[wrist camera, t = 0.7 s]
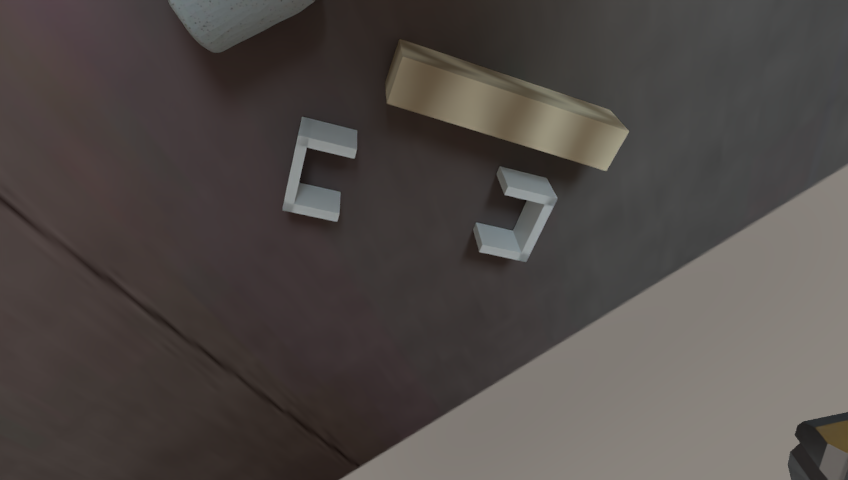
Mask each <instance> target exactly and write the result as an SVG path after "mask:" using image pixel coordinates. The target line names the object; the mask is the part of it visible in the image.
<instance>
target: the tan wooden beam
mask: <svg viewBox="0 0 848 480" xmlns="http://www.w3.org/2000/svg"><path fill="white" fill-rule="evenodd" d="M385 89H386V100H387V104H390V105H393V106H396V107H400V108H403V109H406V110H409V111H413V112H416V113H419V114H422V115H426V116H429V117H432V118H435V119H439V120H442V121H445V122H448V123H452V124H455V125H458V126H461V127H465V128H468V129H471V130H474V131H478V132H481V133H484V134H487V135H491V136H494V137H497V138H500V139H504V140H507V141H510V142H513V143H517V144H520V145H523V146H526V147H530V148H533V149H536V150H539V151H543V152H546V153H549V154H552V155H556V156H559V157H562V158H565V159H569V160H572V161H575V162H578V163H582V164H585V165H588V166H591V167H595V168H598V169H601V170H604V171H607V169H608V167H609V166H610V164H611V162H612V160H613V159H614V157H615V155H616V153H617V152H618V150H619V148H620V147H621V145H622V143H623V141H624V140H625V138H626V136H627V134H628V133H629V131H628V130H627V128H626V127H625V126H624V125H623V124H622V123H621V122H620V121H619V119H618V118H617V117H616V116H615V115H614V114H613V113H612V112H611V111H610V110H609V109H606V108H603V107H600V106H597V105H594V104H591V103H588V102H585V101H582V100H579V99H576V98H573V97H570V96H567V95H565V94H562V93H559V92H556V91H553V90H550V89H547V88H544V87H541V86H538V85H535V84H532V83H529V82H526V81H523V80H520V79H517V78H514V77H511V76H508V75H505V74H503V73H500V72H497V71H494V70H491V69H488V68H485V67H482V66H479V65H476V64H473V63H470V62H467V61H464V60H461V59H458V58H455V57H452V56H449V55H446V54H444V53H441V52H438V51H435V50H432V49H429V48H426V47H423V46H420V45H417V44H414V43H411V42H408V41H405V40H402V39H399V41H398V45H397V48H396V51H395V54H394V57H393V60H392V63H391V66H390V69H389V72H388V75H387V78H386V81H385Z"/></svg>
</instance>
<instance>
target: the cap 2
mask: <svg viewBox="0 0 848 480" xmlns="http://www.w3.org/2000/svg"><path fill="white" fill-rule="evenodd" d="M496 175H497V177H498V180H499V183H500V185H501V188H502V190H503V193H504V195H507V196H511V197H516V198H520V199H524V200H527V201H526V203H525V205H524V208H523V210H522V212H521V214H520V216H519V218H518V221H517V223H516V225H515V227H514V229H513V231H512V230H508V229H503V228H499V227H494V226H490V225H486V224H481V223H477V222H476V223H475V226H474V228H473V232H474V235H475V239H476V242H477V246H478V249H479V252H481V253H486V254H491V255H495V256H500V257H505V258H510V259H514V260H519V261H524V262H526V261H527V259H528V257H529V255H530V253H531V251H532V249H533V247H534V245H535V243H536V241H537V239H538V237H539V235H540V233H541V231H542V229H543V227H544V225H545V223H546V221H547V219H548V217H549V215H550V213H551V211H552V209H553V207H554V205H555V203H556V201H557V199H558V198H557V196H556V194H555V193H554V191H553V189H552V187H551V185H550V183H549V181H548V180H547V178H545V177H541V176H537V175H533V174H529V173H525V172H521V171H517V170H513V169H509V168H505V167H501V166H500V167H499V169H498V171H497V174H496Z"/></svg>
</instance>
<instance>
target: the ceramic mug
mask: <svg viewBox="0 0 848 480" xmlns="http://www.w3.org/2000/svg"><path fill="white" fill-rule="evenodd" d="M314 1H315V0H168V2H169V4H170V6H171V7H172V9H173V10H174V12H175V13H176V15H177V16H178V18H179V19H180V20H181V22H182V23H183V25H184V26H185V28H186V29H187V30H188V32H189V33H190V34H191V35H192V37H193V38H194V39H195V40H196V41H197V42H198V43H199V44H200V45H202V46H203V47H205V48H206V49H207V50H209V51H211V52H213V53H220V52H223V51H225V50H227V49H229V48H231V47H232V46H234V45H236V44H238V43H240V42H242V41H244V40H246V39H248V38H250V37H252V36H254V35H256V34H258V33H260V32H262V31H264V30H266V29H268V28H269V27H271V26H273V25H275V24H277V23H279V22H281V21H283V20H285V19H287V18H289V17H292V16H294V15H296V14H297V13H299V12H301V11H302V10H304V9H305V8H306V7H307V6H309V5H310V4H312V3H313V2H314Z"/></svg>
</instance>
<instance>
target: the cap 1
mask: <svg viewBox="0 0 848 480" xmlns="http://www.w3.org/2000/svg"><path fill="white" fill-rule="evenodd" d="M307 148H311V149H315V150H319V151H323V152H328V153H332V154H336V155H340V156H344V157H348V158H353V159H355V155H356V152H357V130H354V129H350V128H346V127H342V126H338V125H334V124H330V123H326V122H322V121H318V120H314V119H310V118H306V117H302V119H301V124H300V128H299V133H298V138H297V142H296V147H295V152H294V156H293V161H292V166H291V170H290V175H289V180H288V184H287V189H286V194H285V199H284V203H283V208H282V210H283V211H288V212H293V213H298V214H302V215H307V216H312V217H316V218H321V219H326V220H331V221H335V222H337V221H338V217H339V213H340V195H341V192H339V191H334V190H330V189H325V188H321V187H317V186H312V185H308V184H303V183H299V180H300V176H301V171H302V167H303V163H304V158H305V154H306V149H307Z"/></svg>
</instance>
